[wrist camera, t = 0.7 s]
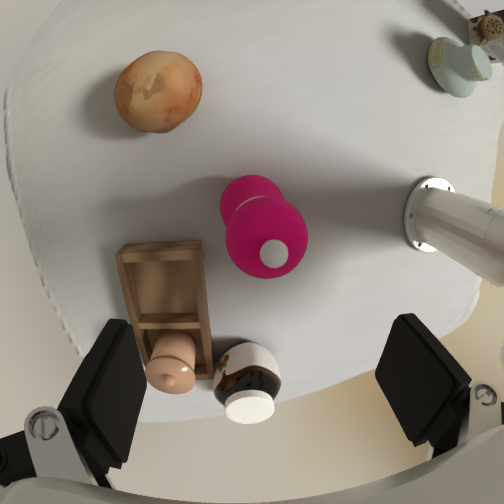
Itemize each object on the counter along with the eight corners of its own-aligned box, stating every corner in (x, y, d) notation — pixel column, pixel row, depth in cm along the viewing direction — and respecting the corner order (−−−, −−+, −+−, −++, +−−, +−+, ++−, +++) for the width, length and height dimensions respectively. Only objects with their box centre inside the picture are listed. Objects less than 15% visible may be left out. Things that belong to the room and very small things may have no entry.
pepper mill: (215, 220, 36) (204, 299, 17) (228, 166, 33) (231, 184, 15) (268, 233, 37) (310, 318, 18) (283, 180, 34) (349, 216, 16)
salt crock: (195, 324, 39) (189, 367, 31) (201, 358, 42) (198, 401, 33) (150, 325, 39) (136, 366, 30) (160, 359, 41) (150, 400, 33)
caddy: (201, 240, 36) (198, 249, 33) (215, 363, 44) (214, 378, 41) (124, 244, 35) (115, 254, 32) (153, 363, 43) (149, 378, 40)
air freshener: (427, 34, 27) (464, 20, 17) (459, 59, 28) (496, 52, 19) (421, 81, 30) (464, 72, 21) (454, 106, 32) (495, 105, 22)
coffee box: (466, 18, 24) (518, 4, 9) (484, 35, 25) (535, 27, 10) (468, 48, 27) (526, 38, 12) (486, 65, 28) (543, 61, 13)
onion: (190, 53, 27) (179, 21, 18) (216, 117, 31) (212, 103, 22) (122, 84, 28) (89, 65, 18) (145, 148, 31) (116, 147, 22)
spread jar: (249, 328, 42) (257, 382, 31) (294, 361, 46) (309, 412, 35) (199, 367, 44) (196, 420, 33) (245, 395, 48) (250, 444, 37)
